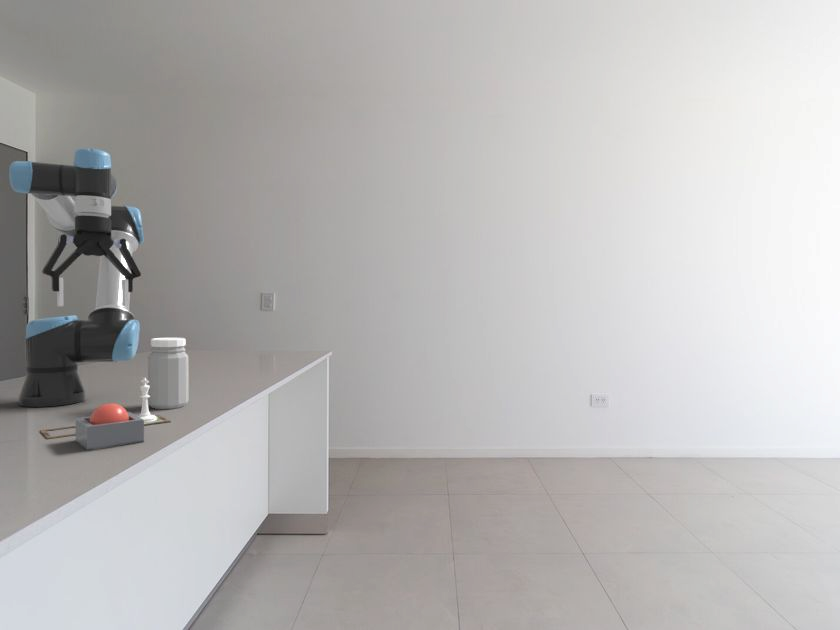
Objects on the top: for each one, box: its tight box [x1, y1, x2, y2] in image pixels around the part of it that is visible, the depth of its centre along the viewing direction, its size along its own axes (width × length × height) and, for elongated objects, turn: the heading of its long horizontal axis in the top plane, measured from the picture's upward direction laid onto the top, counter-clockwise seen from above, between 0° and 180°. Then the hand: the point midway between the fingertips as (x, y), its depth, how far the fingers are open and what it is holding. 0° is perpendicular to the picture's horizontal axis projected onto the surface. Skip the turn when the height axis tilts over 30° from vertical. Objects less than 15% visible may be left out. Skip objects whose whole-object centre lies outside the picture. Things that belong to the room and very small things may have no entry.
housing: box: [74, 411, 145, 452], centre depth 113 cm, size 10×10×4 cm
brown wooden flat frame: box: [39, 414, 171, 440], centre depth 125 cm, size 9×24×1 cm, turn 132°
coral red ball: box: [89, 403, 129, 425], centre depth 113 cm, size 7×7×7 cm
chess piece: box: [137, 377, 157, 423], centre depth 130 cm, size 5×5×10 cm
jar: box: [147, 337, 190, 410], centre depth 148 cm, size 10×10×18 cm
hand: (93, 306), depth 133 cm, fingers open, 13 cm apart
